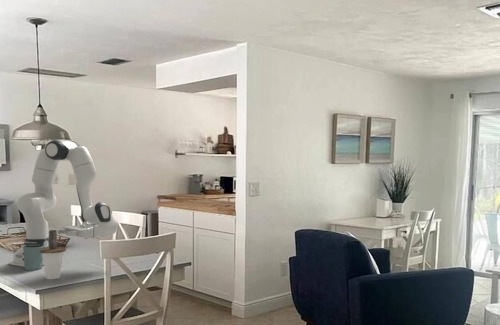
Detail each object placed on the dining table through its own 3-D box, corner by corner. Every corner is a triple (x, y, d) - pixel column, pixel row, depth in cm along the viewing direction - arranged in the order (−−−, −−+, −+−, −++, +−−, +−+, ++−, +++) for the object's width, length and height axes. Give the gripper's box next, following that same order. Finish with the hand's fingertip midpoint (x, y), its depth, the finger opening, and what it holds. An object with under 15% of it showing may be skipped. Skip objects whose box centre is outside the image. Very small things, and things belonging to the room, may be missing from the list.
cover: (33, 252, 230) (33, 231, 230) (49, 248, 242) (49, 228, 242) (56, 253, 228) (56, 232, 228) (71, 249, 239) (71, 228, 239)
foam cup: (46, 275, 239) (46, 249, 239) (65, 275, 240) (65, 248, 240) (39, 280, 230) (39, 252, 230) (59, 280, 230) (59, 252, 230)
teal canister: (19, 270, 250) (19, 247, 249) (30, 266, 260) (30, 243, 260) (37, 271, 248) (37, 247, 248) (48, 266, 258) (48, 244, 258)
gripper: (77, 222, 256) (52, 224, 245) (98, 225, 242) (72, 228, 232) (77, 234, 256) (52, 237, 245) (98, 238, 242) (72, 241, 232)
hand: (62, 233), depth 238 cm, fingers open, 8 cm apart
